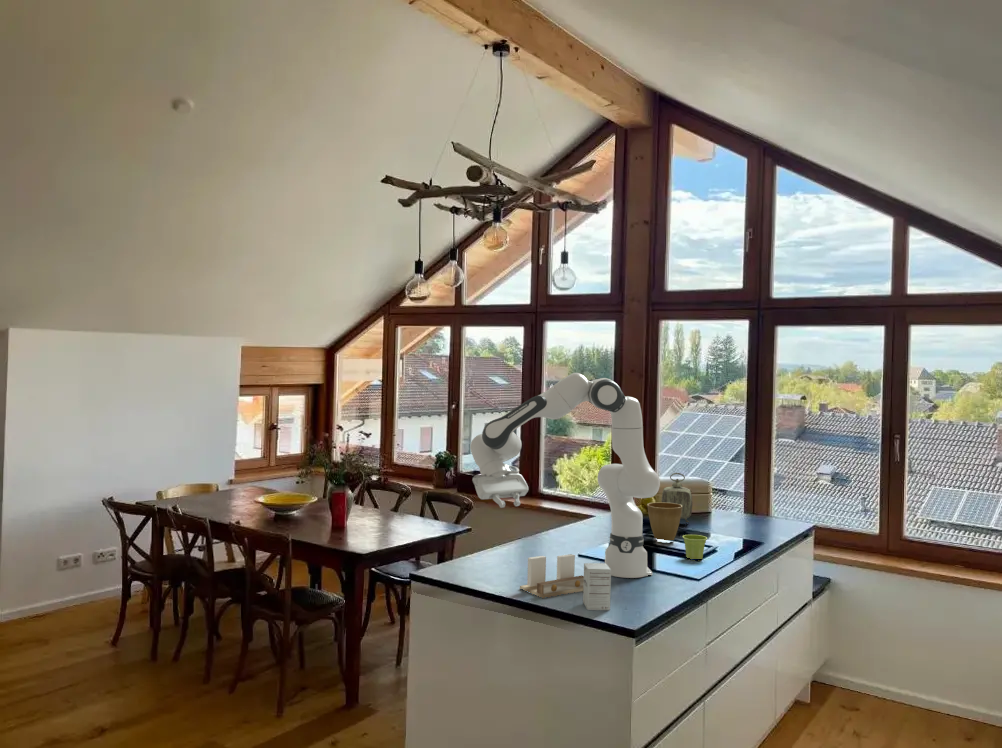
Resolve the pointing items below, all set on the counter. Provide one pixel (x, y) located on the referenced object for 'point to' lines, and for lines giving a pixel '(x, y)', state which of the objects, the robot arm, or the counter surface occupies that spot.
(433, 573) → the counter surface
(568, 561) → the block
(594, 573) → the supplement box
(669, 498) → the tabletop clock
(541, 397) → the robot arm
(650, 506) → the plant pot
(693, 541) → the plant pot
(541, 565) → the white rectangular block
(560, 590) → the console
